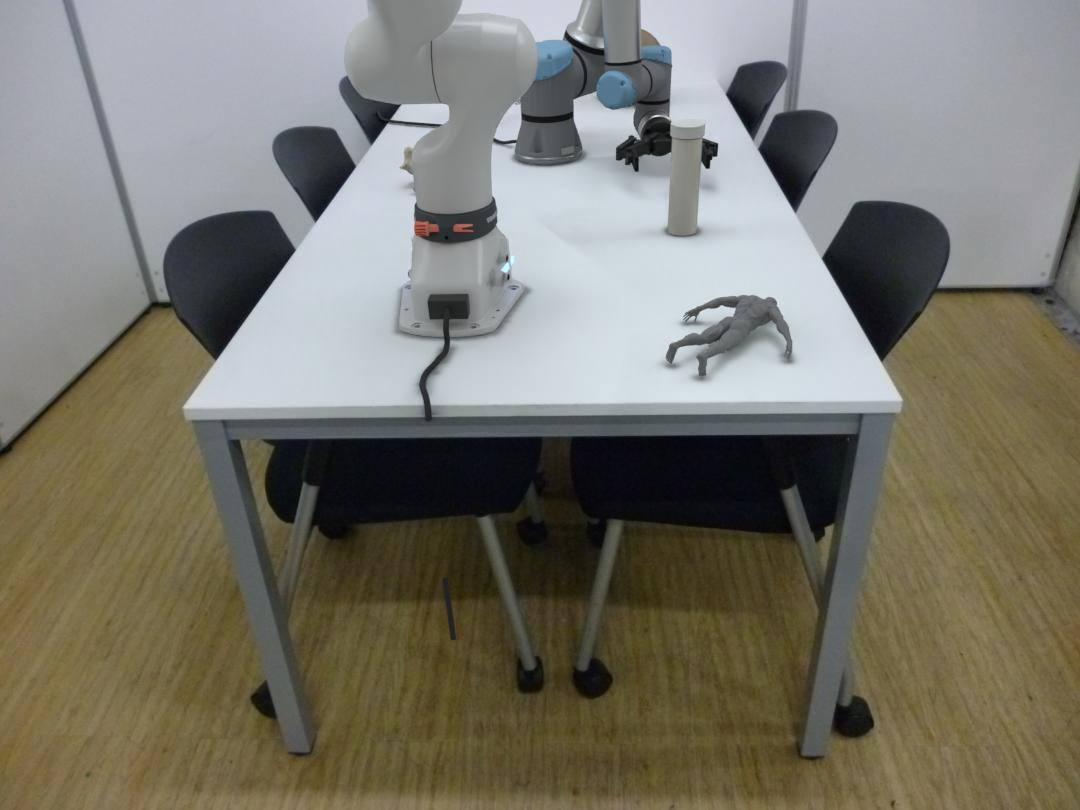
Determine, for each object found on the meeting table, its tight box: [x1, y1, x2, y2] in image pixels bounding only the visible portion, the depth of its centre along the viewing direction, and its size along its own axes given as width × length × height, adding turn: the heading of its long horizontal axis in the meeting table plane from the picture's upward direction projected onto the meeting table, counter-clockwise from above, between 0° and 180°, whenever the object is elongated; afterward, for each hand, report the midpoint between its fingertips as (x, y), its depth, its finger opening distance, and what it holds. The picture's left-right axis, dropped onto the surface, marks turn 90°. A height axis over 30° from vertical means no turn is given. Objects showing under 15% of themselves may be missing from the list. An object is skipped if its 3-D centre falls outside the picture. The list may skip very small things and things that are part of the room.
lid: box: [670, 118, 706, 139], centre depth 137 cm, size 6×6×2 cm
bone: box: [399, 146, 415, 193], centre depth 172 cm, size 10×6×10 cm
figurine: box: [665, 294, 793, 377], centre depth 110 cm, size 17×4×20 cm
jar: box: [667, 136, 704, 237], centre depth 142 cm, size 5×5×18 cm
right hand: (672, 163), depth 159 cm, fingers open, 13 cm apart
